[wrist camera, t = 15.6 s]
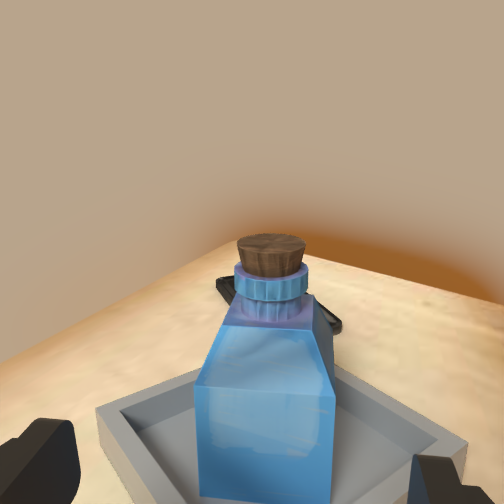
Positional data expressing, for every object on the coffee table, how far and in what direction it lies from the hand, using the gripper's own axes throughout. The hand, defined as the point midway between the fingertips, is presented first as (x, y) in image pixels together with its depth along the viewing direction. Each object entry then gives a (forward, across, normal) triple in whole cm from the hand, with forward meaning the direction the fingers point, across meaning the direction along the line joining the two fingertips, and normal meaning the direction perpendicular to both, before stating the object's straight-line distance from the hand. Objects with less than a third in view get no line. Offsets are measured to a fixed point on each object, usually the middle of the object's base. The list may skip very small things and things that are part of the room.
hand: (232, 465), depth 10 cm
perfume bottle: (+11, 0, +10) cm, 15 cm away
